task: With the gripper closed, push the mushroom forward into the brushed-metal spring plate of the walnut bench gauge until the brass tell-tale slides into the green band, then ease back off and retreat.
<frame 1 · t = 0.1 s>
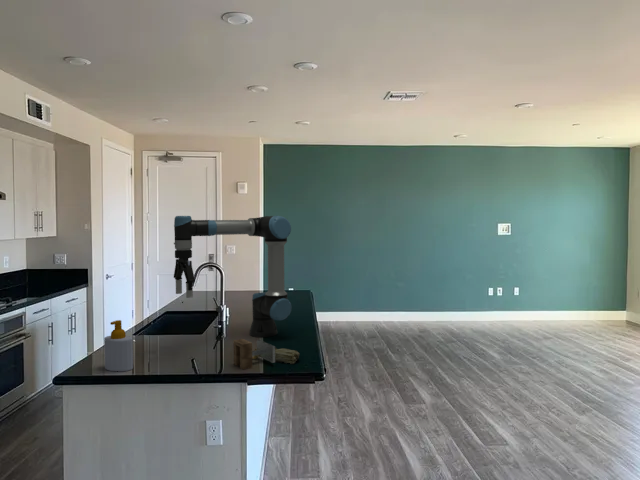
hand: (184, 295, 209), 28 cm above the counter, fingers open, 13 cm apart
spring plate: (256, 352, 198), point 5 cm above the counter, slide at 0.4 cm
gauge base: (253, 363, 199), on the counter
telltale: (255, 353, 205), point 2 cm above the counter, slide at 0.1 cm
mushroom: (283, 361, 203), on the counter
soap bottle: (119, 368, 193), on the counter
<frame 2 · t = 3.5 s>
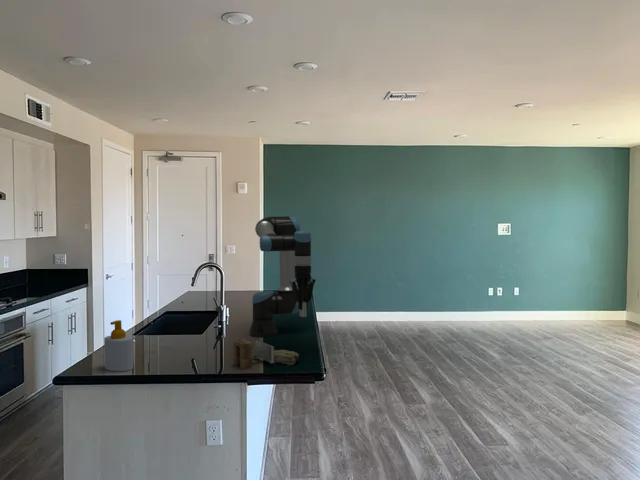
hand: (303, 316, 209), 18 cm above the counter, fingers closed
spring plate: (255, 353, 197), point 5 cm above the counter, slide at 1.1 cm, touching telltale
telltale: (254, 354, 204), point 2 cm above the counter, slide at 0.8 cm, touching spring plate
mushroom: (283, 362, 201), on the counter
everything else where it was.
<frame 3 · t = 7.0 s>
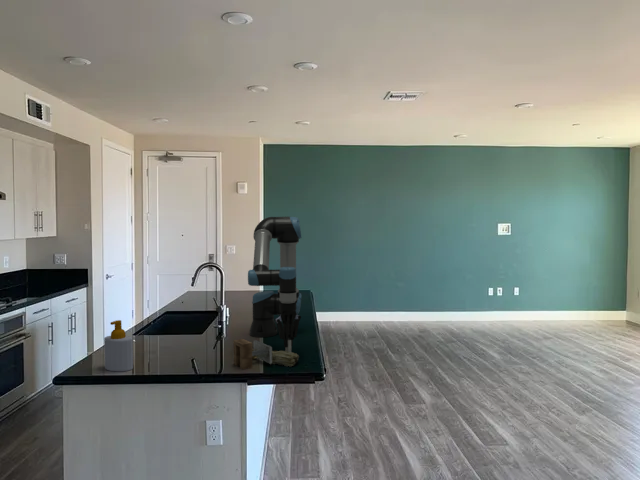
hand: (288, 353, 204), 2 cm above the counter, fingers closed
spring plate: (253, 353, 197), point 5 cm above the counter, slide at 1.9 cm, touching mushroom, telltale
telltale: (252, 354, 204), point 2 cm above the counter, slide at 1.6 cm, touching spring plate
mushroom: (283, 363, 199), on the counter, touching gripper, spring plate
everything else where it was.
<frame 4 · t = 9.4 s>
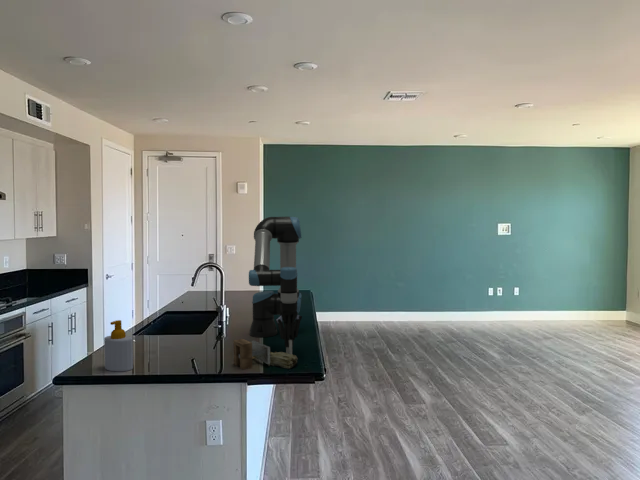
hand: (289, 353, 205), 2 cm above the counter, fingers closed
spring plate: (251, 353, 196), point 5 cm above the counter, slide at 2.9 cm
telltale: (249, 355, 203), point 2 cm above the counter, slide at 3.0 cm
mushroom: (282, 365, 197), on the counter
everything else where it was.
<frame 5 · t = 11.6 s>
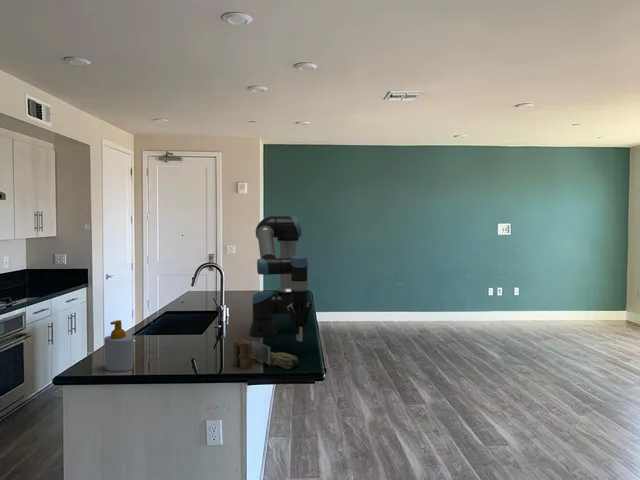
hand: (299, 340, 208), 7 cm above the counter, fingers closed
nothing on the counter moved.
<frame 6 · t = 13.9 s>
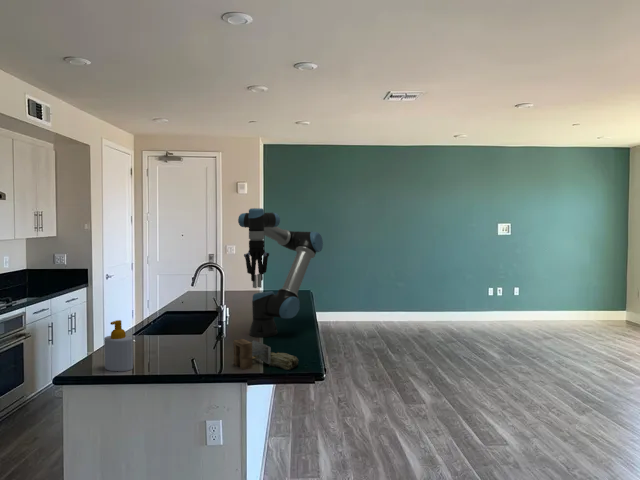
hand: (257, 287, 224), 29 cm above the counter, fingers open, 2 cm apart
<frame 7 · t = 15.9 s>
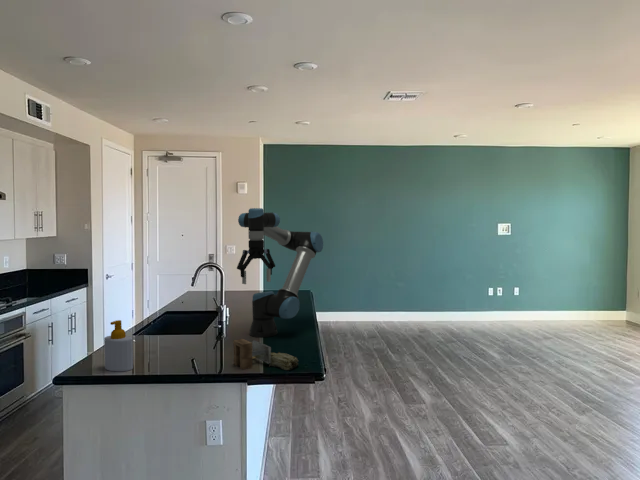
hand: (256, 282, 224), 32 cm above the counter, fingers open, 13 cm apart
at the end: telltale slide at 3.0 cm; mushroom moved 7.4 cm from its start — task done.
